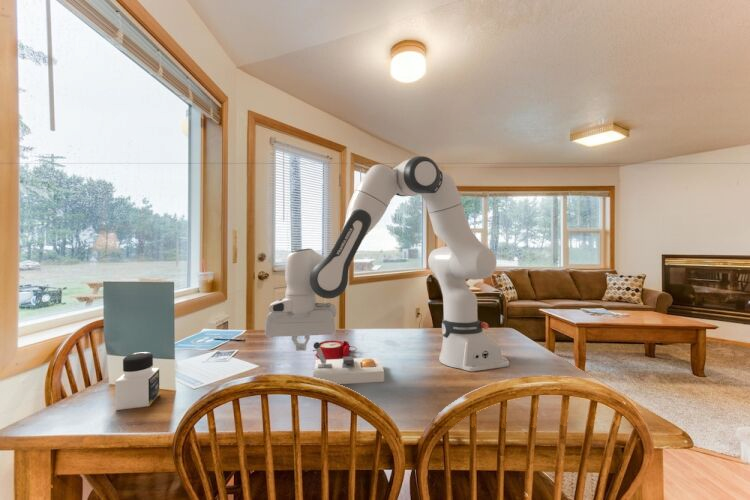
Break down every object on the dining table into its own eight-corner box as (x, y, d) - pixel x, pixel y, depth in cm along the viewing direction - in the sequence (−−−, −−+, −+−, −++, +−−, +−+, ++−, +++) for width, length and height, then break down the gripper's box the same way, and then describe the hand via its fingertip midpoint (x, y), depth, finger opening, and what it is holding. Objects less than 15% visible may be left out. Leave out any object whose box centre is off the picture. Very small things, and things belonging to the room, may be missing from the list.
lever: (327, 360, 97) (318, 340, 97) (327, 362, 95) (318, 342, 95) (321, 363, 97) (312, 343, 97) (320, 365, 95) (312, 345, 95)
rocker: (352, 359, 101) (352, 356, 101) (353, 363, 94) (353, 360, 94) (343, 360, 100) (343, 356, 101) (343, 364, 94) (343, 360, 94)
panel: (378, 366, 104) (378, 356, 104) (384, 381, 92) (384, 369, 92) (316, 369, 102) (315, 358, 102) (313, 385, 90) (313, 373, 90)
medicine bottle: (149, 406, 79) (149, 357, 79) (114, 411, 77) (114, 360, 77) (159, 394, 85) (159, 348, 85) (128, 397, 83) (127, 351, 83)
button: (373, 370, 100) (373, 358, 100) (374, 374, 96) (374, 362, 96) (361, 370, 100) (361, 359, 100) (362, 375, 96) (362, 363, 96)
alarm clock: (314, 341, 121) (353, 331, 122) (318, 357, 121) (357, 347, 122) (311, 350, 111) (353, 339, 112) (315, 367, 111) (357, 356, 112)
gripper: (336, 301, 100) (336, 345, 100) (268, 302, 97) (268, 348, 97) (336, 304, 94) (336, 352, 94) (263, 306, 91) (263, 355, 91)
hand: (301, 350), depth 95 cm, fingers closed
